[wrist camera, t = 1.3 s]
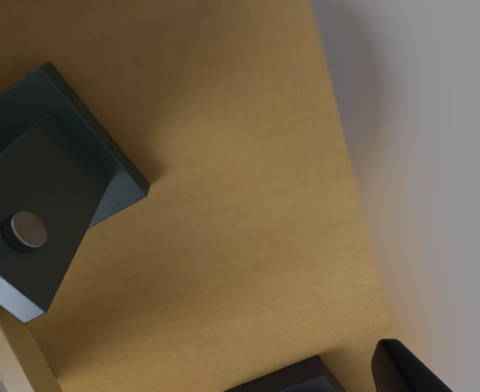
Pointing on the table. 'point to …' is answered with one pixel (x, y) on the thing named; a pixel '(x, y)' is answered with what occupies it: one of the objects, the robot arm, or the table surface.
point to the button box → (296, 379)
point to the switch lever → (22, 358)
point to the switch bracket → (52, 187)
